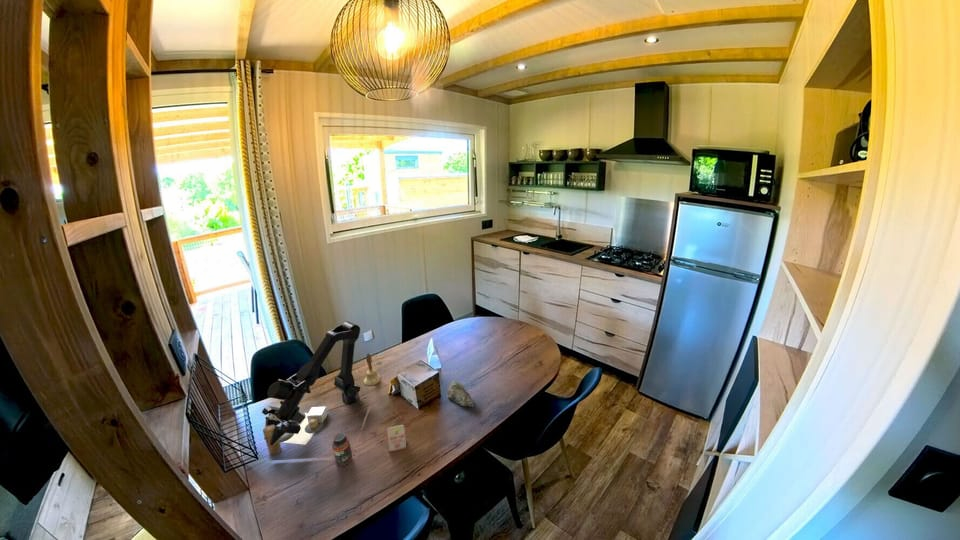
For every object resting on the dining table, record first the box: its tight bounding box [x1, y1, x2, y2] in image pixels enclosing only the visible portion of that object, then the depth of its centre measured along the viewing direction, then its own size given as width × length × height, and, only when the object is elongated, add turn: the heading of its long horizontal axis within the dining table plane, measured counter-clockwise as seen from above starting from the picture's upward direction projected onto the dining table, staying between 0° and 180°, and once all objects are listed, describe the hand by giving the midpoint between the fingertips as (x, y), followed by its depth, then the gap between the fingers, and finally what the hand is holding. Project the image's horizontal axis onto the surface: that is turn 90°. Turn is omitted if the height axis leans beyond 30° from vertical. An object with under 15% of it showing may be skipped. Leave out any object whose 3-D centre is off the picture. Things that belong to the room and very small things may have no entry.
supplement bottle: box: [331, 432, 353, 467], centre depth 123 cm, size 6×6×11 cm
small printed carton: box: [385, 424, 407, 453], centre depth 129 cm, size 4×7×10 cm, turn 105°
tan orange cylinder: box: [262, 425, 282, 456], centre depth 126 cm, size 4×4×12 cm
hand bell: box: [363, 352, 381, 386], centre depth 167 cm, size 8×8×16 cm
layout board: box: [279, 411, 328, 446], centre depth 138 cm, size 18×16×4 cm
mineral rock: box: [446, 380, 474, 407], centre depth 152 cm, size 13×11×10 cm
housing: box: [307, 406, 328, 423], centre depth 143 cm, size 6×5×4 cm
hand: (268, 442), depth 125 cm, fingers closed on tan orange cylinder, 4 cm apart
